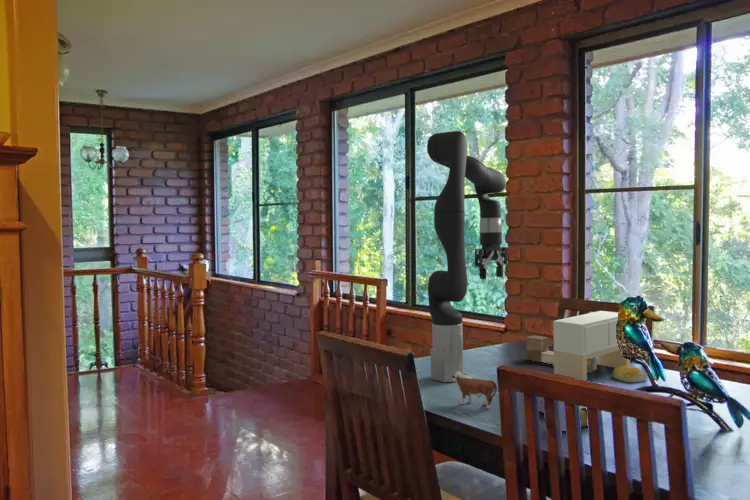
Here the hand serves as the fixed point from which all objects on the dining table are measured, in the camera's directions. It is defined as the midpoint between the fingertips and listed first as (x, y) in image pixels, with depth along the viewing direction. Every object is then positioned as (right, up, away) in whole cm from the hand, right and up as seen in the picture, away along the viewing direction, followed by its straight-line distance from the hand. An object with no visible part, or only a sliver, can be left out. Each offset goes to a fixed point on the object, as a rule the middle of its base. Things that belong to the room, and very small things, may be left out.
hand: (491, 277), depth 215 cm
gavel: (+4, -32, -62) cm, 70 cm away
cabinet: (+27, -29, -22) cm, 45 cm away
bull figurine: (-14, -32, -50) cm, 61 cm away
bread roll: (+36, -29, -29) cm, 55 cm away
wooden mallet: (+21, -28, -11) cm, 36 cm away
